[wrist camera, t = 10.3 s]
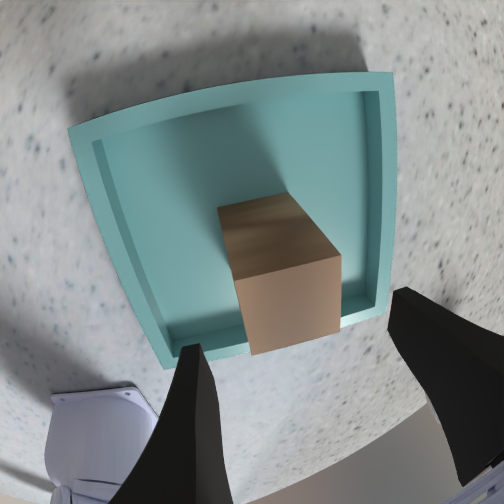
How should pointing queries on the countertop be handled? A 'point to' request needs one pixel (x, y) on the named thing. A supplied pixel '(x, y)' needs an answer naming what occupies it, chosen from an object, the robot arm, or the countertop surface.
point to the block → (281, 272)
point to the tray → (240, 194)
